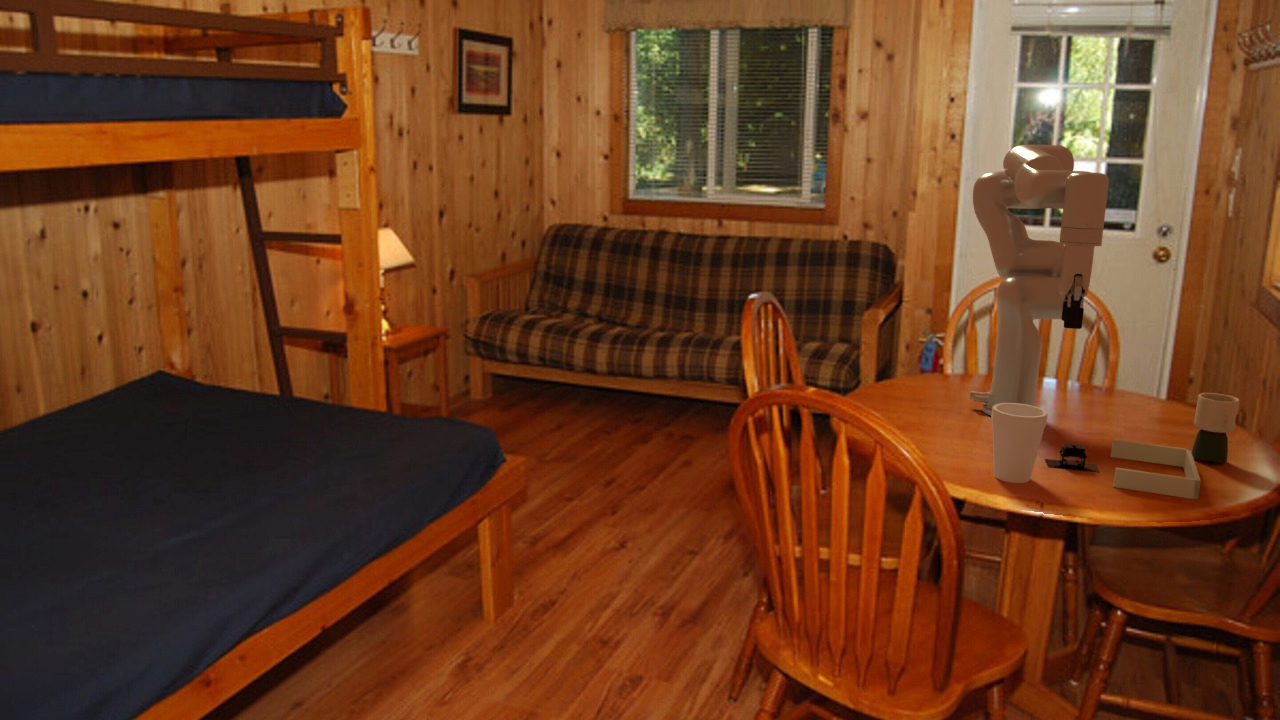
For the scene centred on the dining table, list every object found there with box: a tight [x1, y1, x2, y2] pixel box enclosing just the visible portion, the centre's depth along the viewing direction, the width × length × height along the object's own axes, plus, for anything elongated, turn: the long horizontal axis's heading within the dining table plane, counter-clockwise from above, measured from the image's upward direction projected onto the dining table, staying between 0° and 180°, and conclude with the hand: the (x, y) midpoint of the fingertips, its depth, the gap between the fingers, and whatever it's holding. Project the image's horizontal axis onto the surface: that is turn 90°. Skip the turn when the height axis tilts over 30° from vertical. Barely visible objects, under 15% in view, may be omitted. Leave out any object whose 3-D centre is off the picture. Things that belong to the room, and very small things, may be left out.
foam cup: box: [990, 403, 1049, 484], centre depth 183 cm, size 10×9×13 cm
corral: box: [1110, 438, 1202, 500], centre depth 186 cm, size 14×20×4 cm
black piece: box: [1043, 442, 1101, 474], centre depth 192 cm, size 12×7×5 cm, turn 75°
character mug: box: [1191, 392, 1240, 464], centre depth 195 cm, size 11×7×13 cm, turn 178°
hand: (1071, 324), depth 195 cm, fingers open, 9 cm apart
